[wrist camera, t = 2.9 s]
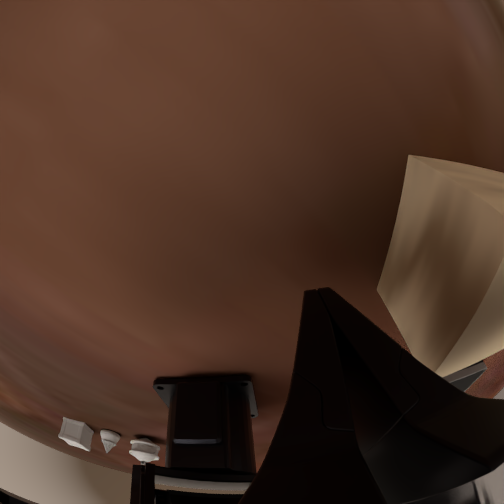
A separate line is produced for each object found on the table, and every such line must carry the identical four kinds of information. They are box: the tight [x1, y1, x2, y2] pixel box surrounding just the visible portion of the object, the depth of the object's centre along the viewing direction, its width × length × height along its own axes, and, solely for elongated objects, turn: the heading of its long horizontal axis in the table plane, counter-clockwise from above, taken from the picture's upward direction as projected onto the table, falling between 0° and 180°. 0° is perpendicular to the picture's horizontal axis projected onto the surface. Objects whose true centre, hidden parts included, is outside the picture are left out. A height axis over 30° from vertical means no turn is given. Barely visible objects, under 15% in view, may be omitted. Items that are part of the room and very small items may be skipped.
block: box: [377, 155, 504, 377], centre depth 9 cm, size 7×9×6 cm
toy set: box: [58, 417, 160, 465], centre depth 22 cm, size 12×3×4 cm, turn 85°
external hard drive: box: [442, 360, 487, 392], centre depth 23 cm, size 7×11×2 cm, turn 83°
